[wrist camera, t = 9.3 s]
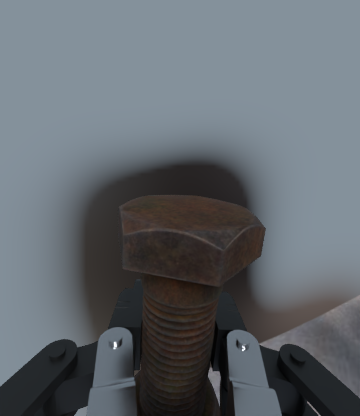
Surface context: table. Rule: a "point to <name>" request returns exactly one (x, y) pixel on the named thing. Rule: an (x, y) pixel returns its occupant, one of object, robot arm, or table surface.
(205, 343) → the bolt
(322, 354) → the table surface
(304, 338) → the table surface
